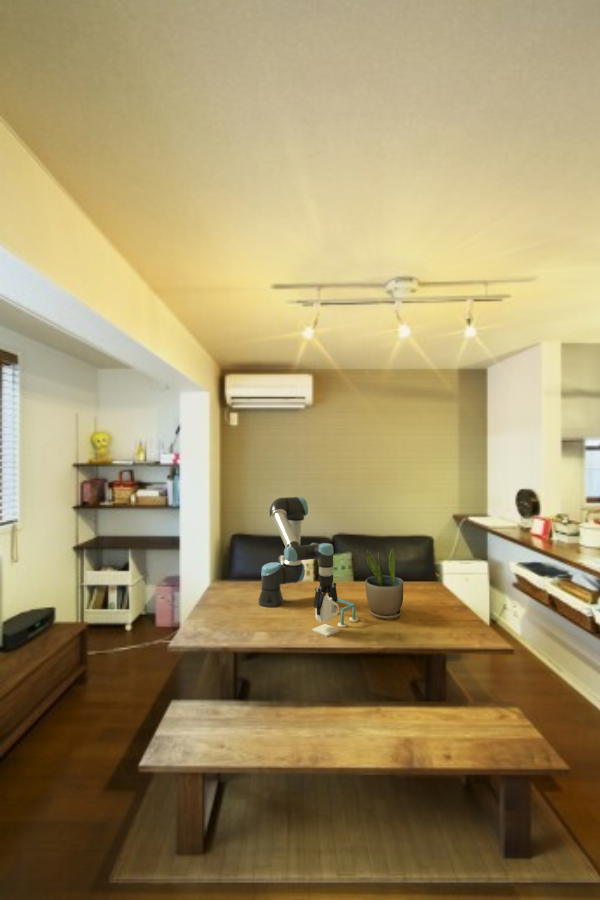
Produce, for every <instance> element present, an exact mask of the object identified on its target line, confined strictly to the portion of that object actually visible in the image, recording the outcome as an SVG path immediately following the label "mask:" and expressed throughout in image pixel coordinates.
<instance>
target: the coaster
mask: <svg viewBox="0 0 600 900" xmlns="http://www.w3.org/2000/svg"><path fill="white" fill-rule="evenodd" d="M311 632H314V633H316V634H319V635H322V636H323V637H325V638H328V637H329V636H332V635H334V634H336V633H338V632H340V628H338V627H335V626H332V625H329V624H326V623H323V624H320V625H318V626H316V627H314V628H312V629H311Z"/></svg>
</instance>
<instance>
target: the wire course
mask: <svg viewBox="0 0 600 900" xmlns="http://www.w3.org/2000/svg"><path fill="white" fill-rule="evenodd" d="M337 598H338V601H337V602H339V603H341V604H344V605H347V606H344V607H342V608H341V610H340V613H339V612H338V614H337V615H339V614H340V622H338V623H337V628H338V627H339V629H340V628H343V629H344V628H347V627H348V624H347V623H346V622H345V612H346V611H347V610H350V609H351V610H352V612H351V613H352V616H351V617H349V619H348V621H349V622H351V623H358V622H359V617H356V604H355V602H351V601H349V600H344V599H341V598H339V597H337ZM337 611H338V610H337V606H336V605H335V609H334V613H337ZM337 615H336V616H337Z"/></svg>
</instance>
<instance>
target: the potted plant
mask: <svg viewBox="0 0 600 900" xmlns="http://www.w3.org/2000/svg"><path fill="white" fill-rule="evenodd" d="M388 557H389V560H388V572H389V575H384V571H383V565H382V562H381V558H380V554H379V553H377V558H378V559H377V560H378V562H379V563H378V564H377V562H376V561H375V558H374V557H373V555H372V554H371V552H370V551H369V550H368V549H367V550H366V561H367V565H368V567H369V569H370V570H371V572H372V573H373V575H374V576H373V575H372V576H369V577H367V578H366V579H365V593H366V594H365V595H366V600H367V604H368V606H369V613H370V614H371V615H372V616H373V617H375V618H377V619H382V620H395V619H397V618H399V617H400V616H401V615H402V610H401V608H402V606H403V602H404V601H403V600H404V580H403V579H402V578H399V577H396V576H395V575H396V573H395V572H396V571H395V570H396V569H395V568H396V567H395V566H396V563H395V553H394V548H392V549H391V550H390V553H389V556H388Z"/></svg>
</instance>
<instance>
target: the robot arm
mask: <svg viewBox="0 0 600 900" xmlns="http://www.w3.org/2000/svg"><path fill="white" fill-rule="evenodd" d="M308 506H309V505H308V503H307V501H306V499H305V498H304V497H302V496H301V497H300V496H290V497H289V496H288V497H279V498H276V499H275V500H273V502H271V505H270V507H269V516H270V519H271V521H272V522H273V523H274V524H275V527H276V529H277V531H278V533H279V536H280V538H281V540H282V543H283V544H284V546H285V548H284V550H283V555H284V559H283V561H282V564H281V563H280V562H277V561H276V562H272V561H271V562H268V563H266V564H264V565H263V566H262V567H261V573H260V575H261V578H260V579H261V587H260V589H261V590H260V594H259V597H258V599H257V600H258V602H257V603H258V605H259V606H261V607H266V608H274V607H278V606H281V605H283V604H284V598H283V597H284V596H283V594H282V590H281V585H289V584H296V583H301V582H302V581H303V580H304V578H305V574H306V570H305V565H304V563H303V562H302V561H307V560H308V561H309V560H318V583H319V587H315V589H314V590H315V592H314V593H315V595H314V600H313V601H314V602H313V608H315V609H316V608H317V619H316V620H317V622H320V623H323V622H322V608H321V606H322V603H323V600H324V596H325V595H327V596H329V598H330V597H332V601H334V602H336V603H337V602H339V601H338V598H339V597H338V593H337V592H338V591H337V583H336V582H334V546H333V544H332V543H328V542H326V543H325V542H324V543H318V542H312V543H310V544H306V545H301V537H302V536H301V534H302V522H304V520H305V517H306V516H308V512H309V507H308ZM337 604H338V603H337ZM334 609H335V605H332V613H334Z"/></svg>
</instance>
